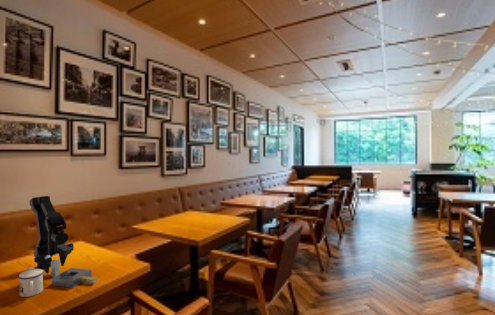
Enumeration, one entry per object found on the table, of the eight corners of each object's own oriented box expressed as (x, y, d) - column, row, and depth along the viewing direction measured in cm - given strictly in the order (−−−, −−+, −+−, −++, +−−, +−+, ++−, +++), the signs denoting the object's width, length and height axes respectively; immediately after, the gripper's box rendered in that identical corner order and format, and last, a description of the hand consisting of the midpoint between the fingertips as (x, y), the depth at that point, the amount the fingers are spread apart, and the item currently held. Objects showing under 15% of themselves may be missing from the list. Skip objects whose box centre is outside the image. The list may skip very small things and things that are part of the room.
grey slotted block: (51, 285, 139) (51, 278, 139) (71, 274, 151) (71, 267, 151) (86, 289, 135) (86, 282, 135) (103, 277, 147) (103, 271, 147)
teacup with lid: (19, 291, 133) (18, 266, 133) (43, 285, 139) (43, 261, 138) (18, 302, 123) (17, 276, 123) (44, 296, 129) (43, 270, 128)
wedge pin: (51, 276, 148) (50, 261, 148) (55, 274, 151) (55, 259, 150) (55, 276, 148) (55, 261, 147) (59, 274, 150) (59, 259, 150)
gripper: (52, 247, 138) (53, 279, 138) (82, 235, 156) (82, 263, 157) (33, 245, 140) (33, 277, 141) (64, 234, 158) (64, 262, 159)
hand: (55, 269), depth 149 cm, fingers open, 9 cm apart
